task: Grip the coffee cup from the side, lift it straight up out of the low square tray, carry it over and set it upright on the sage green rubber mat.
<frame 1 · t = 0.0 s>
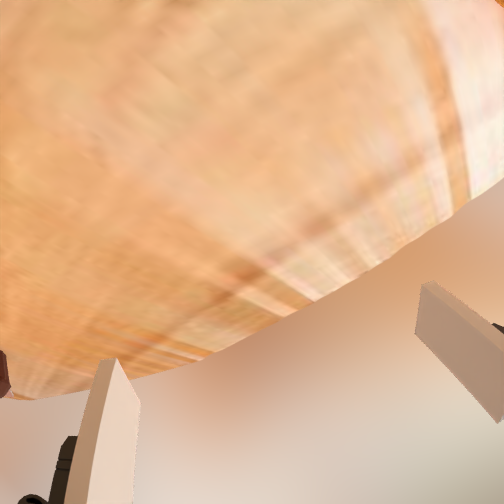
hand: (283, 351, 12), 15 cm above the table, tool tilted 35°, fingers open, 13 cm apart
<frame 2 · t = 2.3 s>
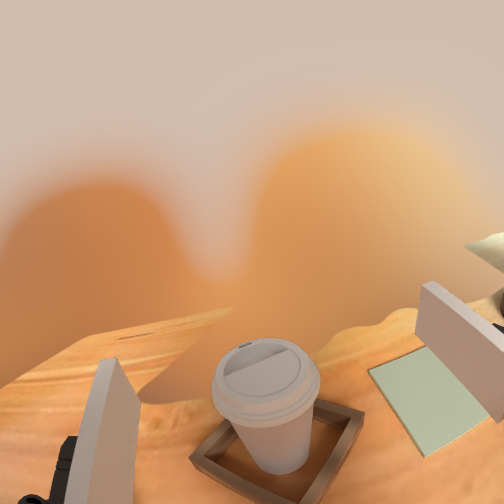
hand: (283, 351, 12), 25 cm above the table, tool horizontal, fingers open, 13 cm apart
square tray: (281, 452, 31), on the table
coffee cup: (281, 453, 31), resting in square tray
mat: (443, 387, 33), on the table
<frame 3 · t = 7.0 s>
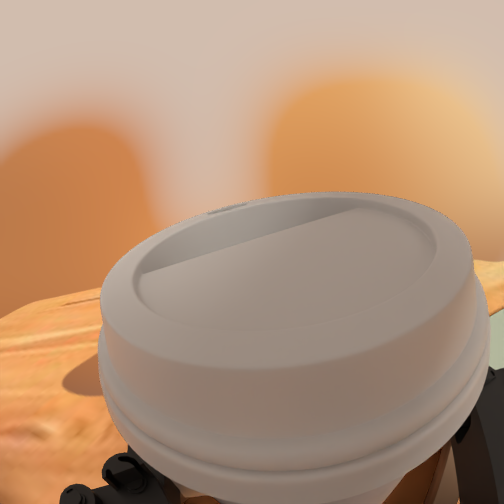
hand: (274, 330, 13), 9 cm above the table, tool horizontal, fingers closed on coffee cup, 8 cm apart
square tray: (311, 502, 12), on the table
coffee cup: (311, 503, 12), resting in square tray, touching gripper
when the fingers open (11 cm above the table, at t = 12.9 s): coffee cup moves 2 cm, resting on mat.
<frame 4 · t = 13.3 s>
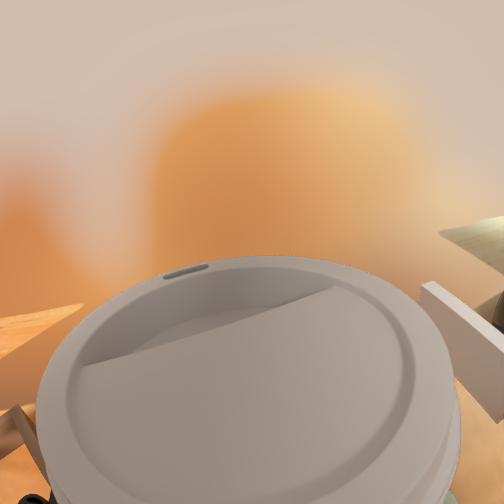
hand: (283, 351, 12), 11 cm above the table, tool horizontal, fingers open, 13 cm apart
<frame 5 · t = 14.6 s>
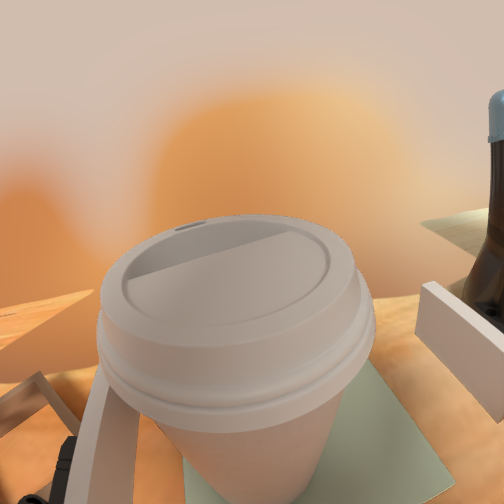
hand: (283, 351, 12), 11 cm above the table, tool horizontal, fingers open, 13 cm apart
square tray: (28, 467, 16), on the table
coffee cup: (261, 469, 16), point 1 cm above the table, touching mat
mat: (298, 446, 18), on the table
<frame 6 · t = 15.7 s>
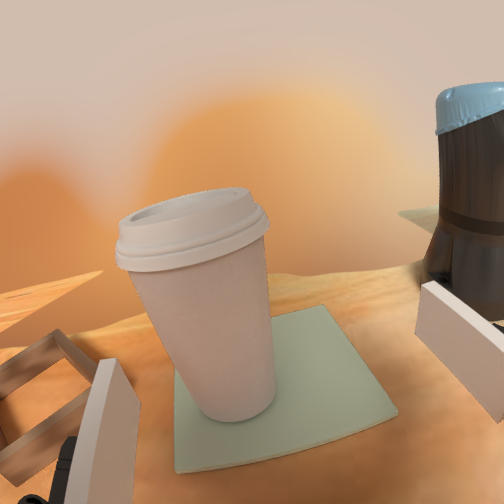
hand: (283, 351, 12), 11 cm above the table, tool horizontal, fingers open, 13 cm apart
square tray: (42, 407, 23), on the table
coffee cup: (236, 393, 23), point 1 cm above the table, touching mat
mat: (267, 378, 25), on the table
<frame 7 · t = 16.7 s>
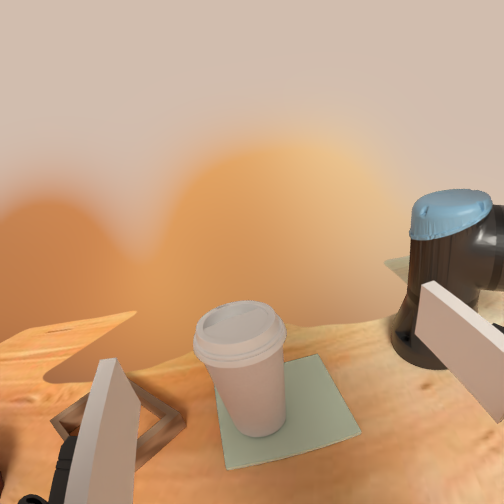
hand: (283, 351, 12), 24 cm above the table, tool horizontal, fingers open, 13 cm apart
square tray: (117, 432, 35), on the table
coffee cup: (260, 418, 35), point 1 cm above the table, touching mat
mat: (279, 407, 37), on the table
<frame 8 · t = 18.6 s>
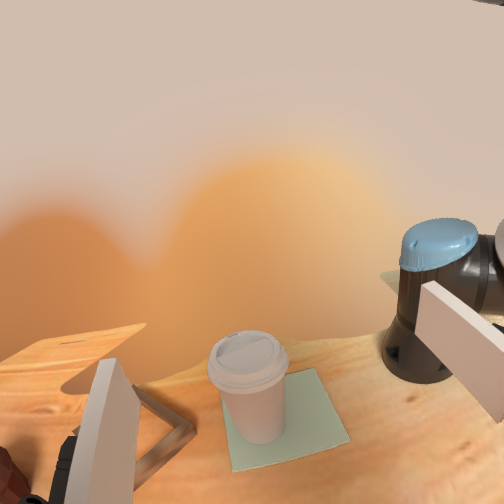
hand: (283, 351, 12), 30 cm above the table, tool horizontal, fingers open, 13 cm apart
square tray: (134, 440, 39), on the table
coffee cup: (262, 427, 39), resting on mat
muffin: (13, 493, 25), on the table
mat: (279, 417, 41), on the table
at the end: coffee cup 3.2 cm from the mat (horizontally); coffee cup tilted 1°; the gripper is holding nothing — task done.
